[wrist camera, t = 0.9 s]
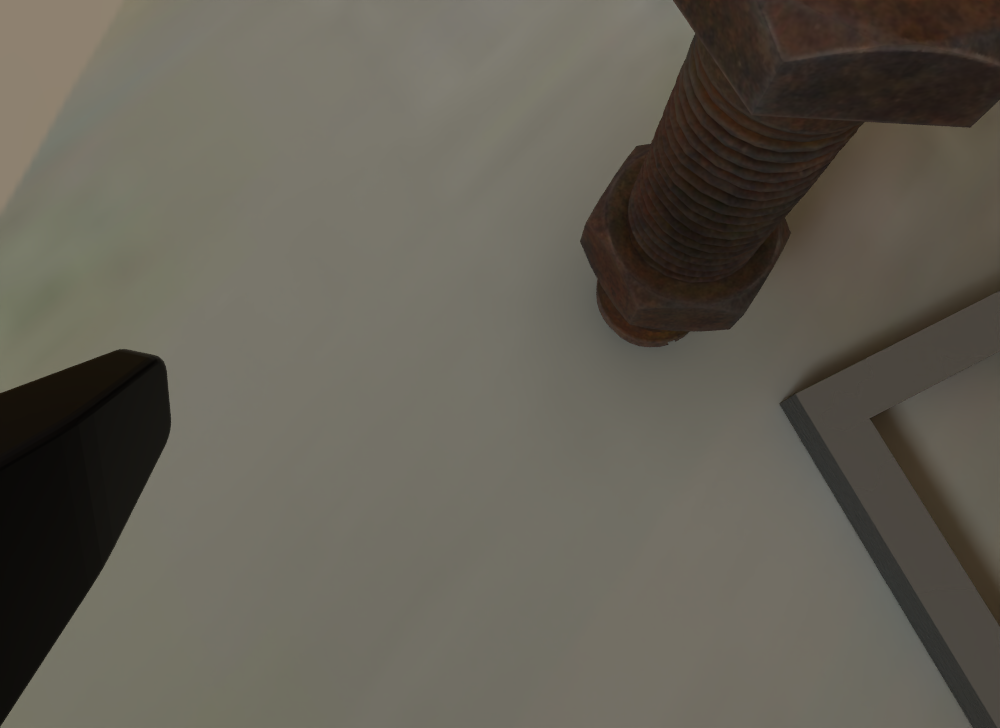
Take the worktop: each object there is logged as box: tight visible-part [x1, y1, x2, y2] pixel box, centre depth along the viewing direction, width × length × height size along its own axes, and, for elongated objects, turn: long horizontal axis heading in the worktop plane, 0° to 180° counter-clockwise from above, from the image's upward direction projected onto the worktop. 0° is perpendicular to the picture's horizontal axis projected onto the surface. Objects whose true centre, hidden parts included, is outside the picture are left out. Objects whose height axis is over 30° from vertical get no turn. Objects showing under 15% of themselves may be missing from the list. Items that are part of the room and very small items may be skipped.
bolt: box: [580, 0, 1000, 347], centre depth 17 cm, size 6×5×15 cm
